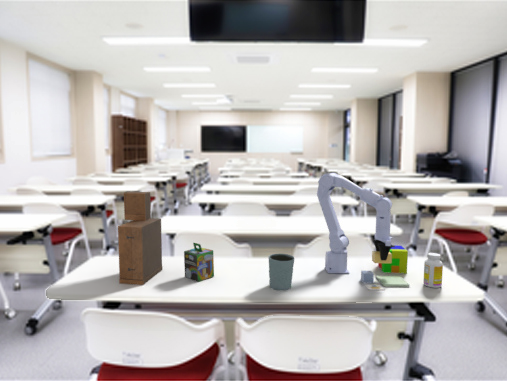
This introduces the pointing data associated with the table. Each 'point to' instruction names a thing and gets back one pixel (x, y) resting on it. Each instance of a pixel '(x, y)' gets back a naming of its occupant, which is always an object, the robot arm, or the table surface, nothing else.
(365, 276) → the blue cube
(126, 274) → the brown stacked boxes
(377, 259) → the ochre brick
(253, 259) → the table surface
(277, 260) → the green cup
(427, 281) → the supplement bottle
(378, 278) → the baseplate
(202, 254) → the multicoloured upright box
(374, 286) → the page
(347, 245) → the robot arm
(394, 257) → the puzzle toy
